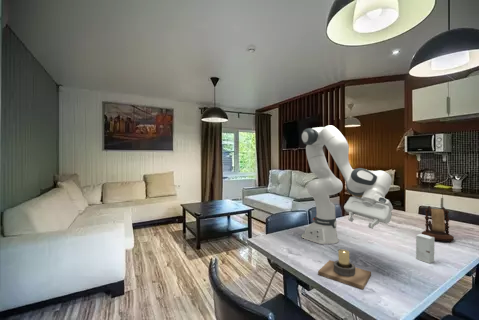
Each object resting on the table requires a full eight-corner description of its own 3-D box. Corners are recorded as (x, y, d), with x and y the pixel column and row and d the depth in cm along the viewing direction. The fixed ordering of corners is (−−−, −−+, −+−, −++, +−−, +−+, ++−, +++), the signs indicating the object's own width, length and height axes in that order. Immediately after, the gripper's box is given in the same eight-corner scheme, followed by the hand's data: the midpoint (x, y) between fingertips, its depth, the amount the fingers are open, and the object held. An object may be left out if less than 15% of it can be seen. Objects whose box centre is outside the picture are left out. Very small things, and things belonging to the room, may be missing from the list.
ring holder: (318, 274, 99) (317, 264, 99) (329, 263, 109) (329, 254, 109) (362, 289, 87) (362, 278, 87) (371, 275, 97) (370, 264, 97)
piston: (337, 271, 98) (336, 251, 98) (340, 268, 101) (340, 248, 101) (348, 275, 95) (347, 254, 95) (351, 271, 98) (350, 250, 98)
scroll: (425, 241, 134) (424, 208, 134) (419, 233, 147) (418, 203, 147) (458, 244, 127) (457, 210, 127) (448, 236, 140) (447, 205, 140)
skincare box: (415, 258, 111) (415, 234, 111) (420, 257, 113) (420, 233, 113) (430, 264, 106) (429, 238, 106) (435, 262, 108) (434, 237, 108)
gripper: (348, 191, 115) (336, 213, 111) (393, 201, 98) (380, 228, 94) (353, 198, 118) (341, 220, 114) (397, 209, 101) (385, 235, 97)
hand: (359, 224), depth 104 cm, fingers open, 8 cm apart
